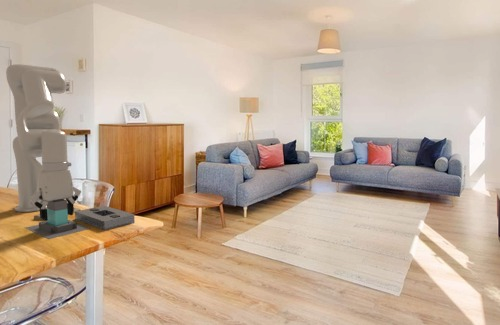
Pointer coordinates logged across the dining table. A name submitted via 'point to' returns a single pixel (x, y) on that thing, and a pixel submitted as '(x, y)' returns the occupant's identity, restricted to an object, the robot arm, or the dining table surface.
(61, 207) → the plug
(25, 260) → the dining table surface
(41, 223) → the plate
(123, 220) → the port block
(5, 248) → the dining table surface
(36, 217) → the computer
